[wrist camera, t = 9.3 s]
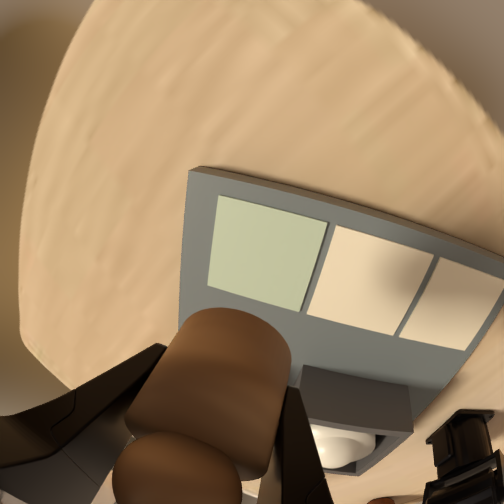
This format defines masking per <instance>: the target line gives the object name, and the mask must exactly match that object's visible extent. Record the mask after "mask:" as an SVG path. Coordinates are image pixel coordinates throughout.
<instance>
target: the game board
mask: <svg viewBox="0 0 504 504" xmlns="http://www.w3.org/2000/svg"><path fill="white" fill-rule="evenodd" d="M503 304H504V257H502V256H500V255H497V254H495V253H492V252H490V251H488V250H485V249H483V248H480V247H478V246H475V245H473V244H470V243H468V242H465V241H463V240H460V239H458V238H455V237H452V236H450V235H447V234H444V233H442V232H439V231H436V230H433V229H431V228H428V227H425V226H422V225H419V224H416V223H414V222H411V221H408V220H405V219H402V218H399V217H396V216H393V215H390V214H386V213H383V212H380V211H377V210H374V209H371V208H367V207H364V206H361V205H357V204H354V203H351V202H347V201H344V200H340V199H337V198H333V197H330V196H326V195H323V194H319V193H315V192H311V191H308V190H304V189H300V188H296V187H292V186H288V185H284V184H280V183H276V182H272V181H268V180H263V179H259V178H255V177H250V176H246V175H241V174H237V173H232V172H227V171H223V170H218V169H213V168H208V167H203V166H198V167H196V168H193V169H191V170H189V173H188V182H187V192H186V202H185V213H184V225H183V238H182V253H181V270H180V292H179V326H178V331H179V330H180V328H181V326H182V325H183V323H184V322H185V321H186V319H187V318H188V317H190V316H191V315H192V314H194V313H196V312H198V311H200V310H204V309H208V308H217V307H222V308H232V309H237V310H241V311H245V312H247V313H250V314H253V315H255V316H257V317H259V318H261V319H262V320H264V321H266V322H267V323H269V324H270V325H271V326H273V327H274V328H275V329H276V330H277V331H278V332H279V333H280V334H281V335H282V337H283V338H284V339H285V341H286V342H287V344H288V346H289V349H290V352H291V359H292V362H291V368H290V373H289V378H288V383H287V385H290V386H294V387H298V388H299V389H300V392H301V395H302V399H303V402H304V406H305V409H306V412H307V416H308V419H309V423H310V424H314V425H319V426H324V427H329V428H335V429H341V430H347V431H354V432H361V433H368V434H375V449H374V450H373V452H372V453H371V454H369V455H368V456H366V457H364V458H362V459H360V460H357V461H353V462H350V463H348V464H347V465H345V466H342V467H339V468H324V467H323V471H324V473H332V474H340V475H349V476H360V475H362V474H363V473H364V472H366V471H367V470H369V469H370V468H371V467H373V466H374V465H375V464H377V463H378V462H379V461H381V460H382V459H383V458H384V457H386V456H387V455H388V454H389V453H391V452H392V451H393V450H394V449H395V448H397V447H398V446H399V445H400V444H401V443H403V442H404V441H405V440H406V439H407V438H408V437H409V436H411V435H412V434H413V433H414V429H413V420H414V419H415V418H416V417H417V416H418V415H419V414H420V413H421V412H422V411H423V410H424V409H425V408H426V407H427V406H428V405H429V404H430V403H431V402H432V401H433V400H434V399H435V397H436V396H437V395H438V394H439V393H440V392H441V391H442V390H443V388H444V387H445V386H446V385H447V384H448V383H449V381H450V380H451V379H452V378H453V377H454V375H455V374H456V373H457V372H458V370H459V369H460V368H461V367H462V365H463V364H464V363H465V361H466V360H467V359H468V357H469V356H470V355H471V353H472V352H473V351H474V349H475V348H476V346H477V345H478V343H479V342H480V341H481V339H482V338H483V336H484V335H485V333H486V332H487V330H488V329H489V327H490V326H491V324H492V322H493V321H494V319H495V318H496V316H497V314H498V313H499V311H500V309H501V308H502V306H503Z"/></svg>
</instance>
